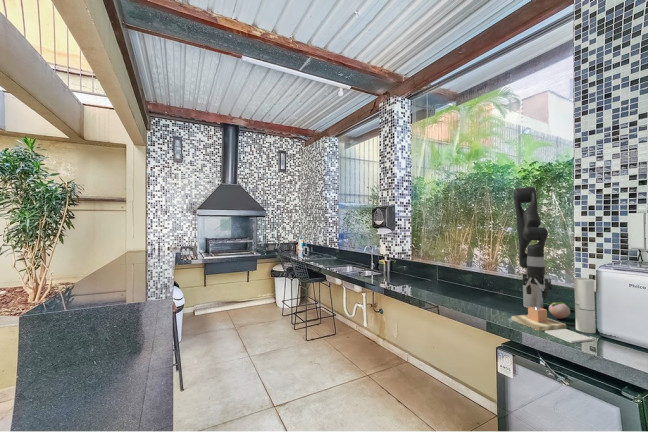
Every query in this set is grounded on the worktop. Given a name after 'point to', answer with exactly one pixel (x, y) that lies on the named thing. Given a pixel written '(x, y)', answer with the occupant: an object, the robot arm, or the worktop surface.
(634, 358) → the worktop surface
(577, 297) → the cylindrical container
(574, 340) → the pad
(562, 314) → the decorative fruit
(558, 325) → the stand base
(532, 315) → the collar
